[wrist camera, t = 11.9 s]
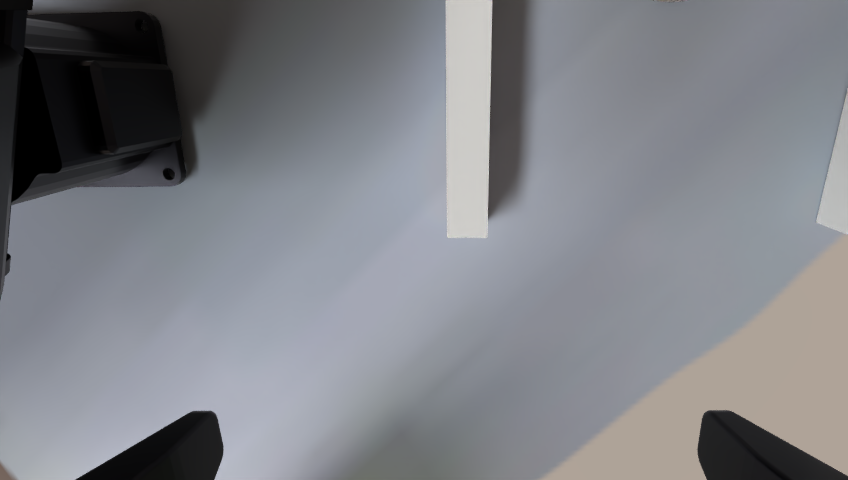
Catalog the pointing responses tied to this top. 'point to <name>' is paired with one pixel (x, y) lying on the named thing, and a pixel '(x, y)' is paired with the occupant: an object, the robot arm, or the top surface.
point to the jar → (670, 0)
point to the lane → (470, 128)
